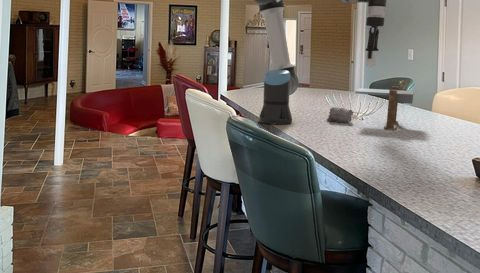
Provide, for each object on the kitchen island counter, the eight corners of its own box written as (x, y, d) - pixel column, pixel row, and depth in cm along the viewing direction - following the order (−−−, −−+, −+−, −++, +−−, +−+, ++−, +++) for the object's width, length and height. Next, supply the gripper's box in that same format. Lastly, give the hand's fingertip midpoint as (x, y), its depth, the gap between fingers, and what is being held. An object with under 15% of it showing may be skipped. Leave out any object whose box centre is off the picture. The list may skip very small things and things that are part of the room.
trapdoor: (354, 100, 206) (355, 91, 206) (359, 96, 221) (359, 88, 220) (412, 103, 198) (413, 94, 197) (412, 99, 213) (413, 91, 212)
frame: (383, 129, 201) (386, 90, 198) (387, 121, 222) (390, 86, 218) (395, 130, 200) (399, 90, 196) (398, 122, 220) (401, 86, 216)
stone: (351, 124, 213) (352, 109, 211) (325, 122, 217) (326, 107, 216) (354, 122, 220) (355, 107, 218) (329, 119, 225) (330, 105, 223)
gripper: (382, 15, 191) (376, 67, 196) (386, 18, 214) (381, 65, 218) (363, 14, 194) (358, 66, 198) (369, 18, 217) (365, 64, 221)
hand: (370, 65), depth 208 cm, fingers open, 13 cm apart
